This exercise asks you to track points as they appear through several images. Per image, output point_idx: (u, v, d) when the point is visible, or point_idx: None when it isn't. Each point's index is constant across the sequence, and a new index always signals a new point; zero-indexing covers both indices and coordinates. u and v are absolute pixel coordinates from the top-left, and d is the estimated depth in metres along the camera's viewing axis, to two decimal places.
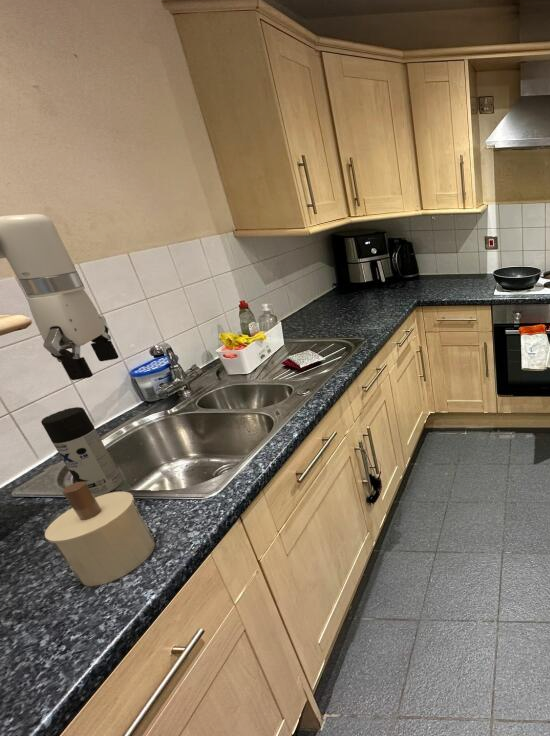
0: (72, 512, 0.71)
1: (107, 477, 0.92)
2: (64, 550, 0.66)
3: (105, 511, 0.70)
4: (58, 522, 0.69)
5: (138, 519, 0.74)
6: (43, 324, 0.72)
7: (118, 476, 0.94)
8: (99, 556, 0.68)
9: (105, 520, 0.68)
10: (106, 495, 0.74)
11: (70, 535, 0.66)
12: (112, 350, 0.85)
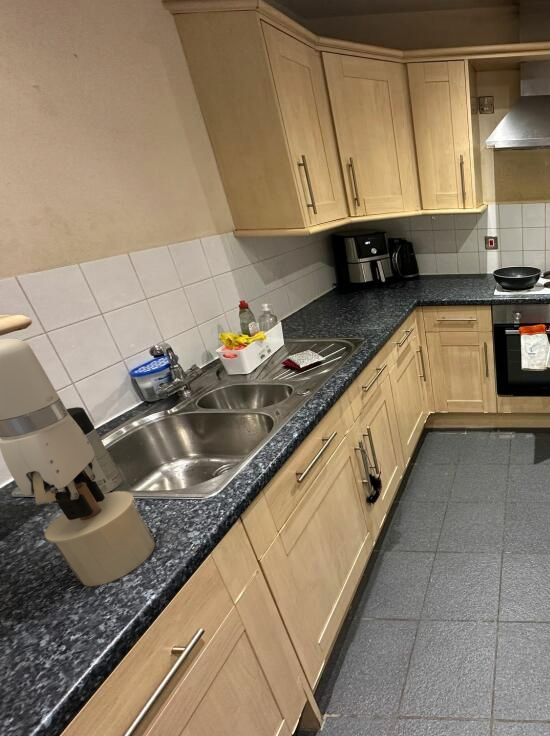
0: None
1: (107, 477, 0.92)
2: (64, 550, 0.66)
3: (105, 511, 0.70)
4: (58, 522, 0.69)
5: (138, 519, 0.74)
6: (18, 470, 0.60)
7: (118, 476, 0.94)
8: (99, 556, 0.68)
9: (105, 520, 0.68)
10: (106, 495, 0.74)
11: (70, 535, 0.66)
12: (97, 492, 0.70)
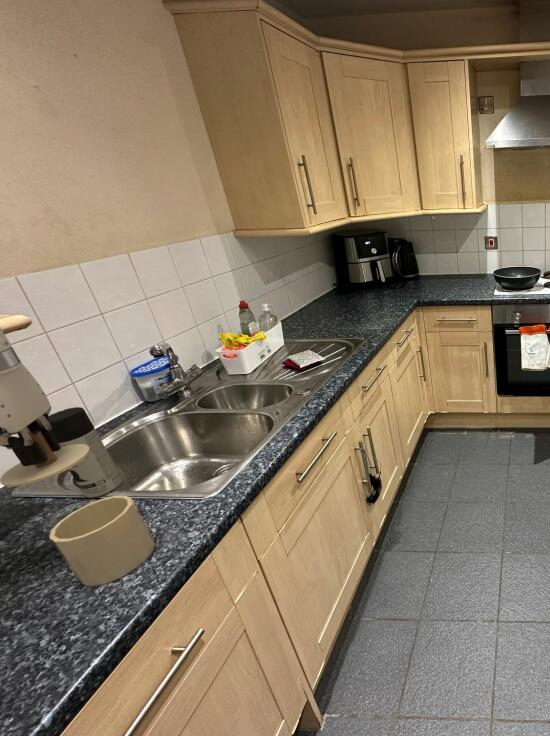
0: None
1: (107, 477, 0.92)
2: (64, 550, 0.66)
3: (60, 460, 0.73)
4: (14, 469, 0.72)
5: (138, 519, 0.74)
6: None
7: (118, 476, 0.94)
8: (99, 556, 0.68)
9: (59, 467, 0.71)
10: (64, 447, 0.77)
11: (24, 479, 0.69)
12: (52, 442, 0.73)
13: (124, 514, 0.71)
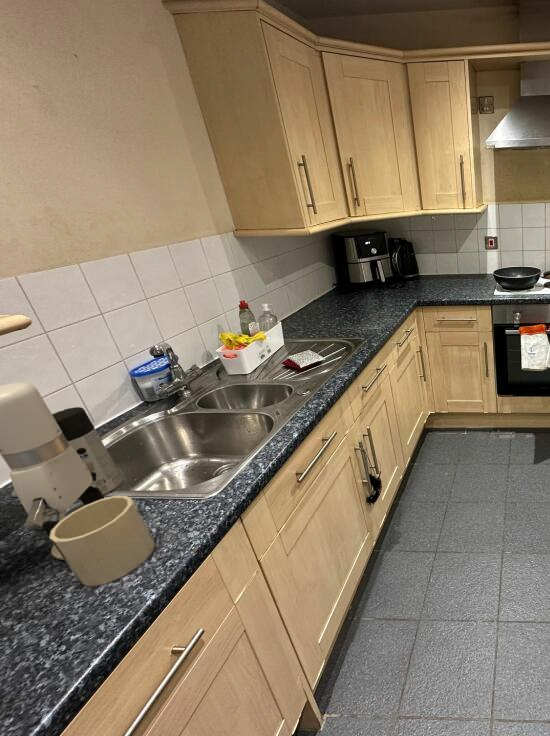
0: None
1: (107, 477, 0.92)
2: (64, 550, 0.66)
3: None
4: None
5: (138, 519, 0.74)
6: (26, 497, 0.69)
7: (118, 476, 0.94)
8: (99, 556, 0.68)
9: None
10: None
11: None
12: (100, 497, 0.82)
13: (124, 514, 0.71)
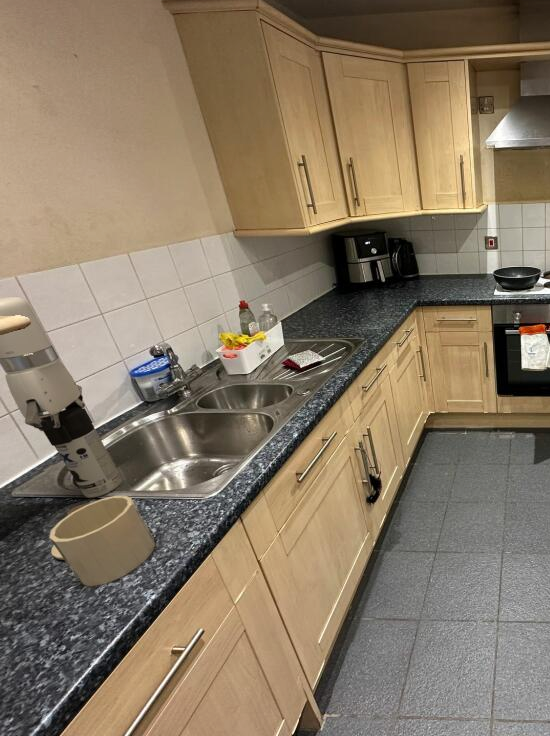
0: None
1: (107, 477, 0.92)
2: (64, 550, 0.66)
3: None
4: None
5: (138, 519, 0.74)
6: (20, 398, 0.79)
7: (118, 476, 0.94)
8: (99, 556, 0.68)
9: None
10: None
11: None
12: None
13: (124, 514, 0.71)
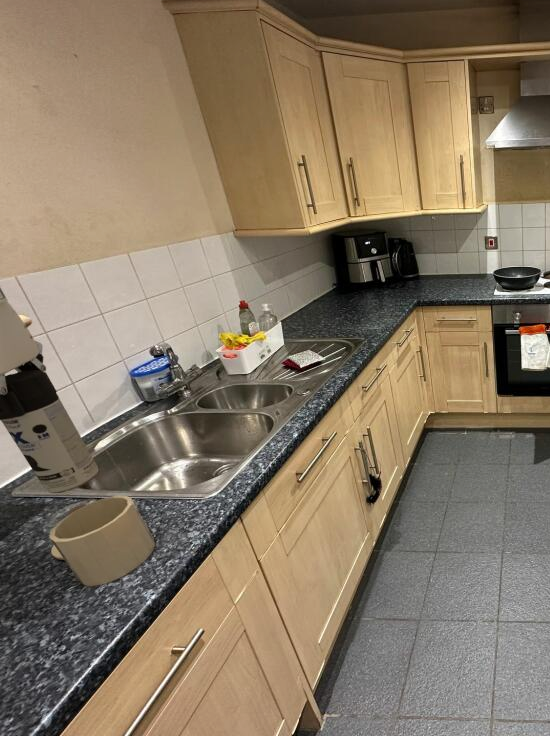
0: None
1: (78, 465, 0.68)
2: (64, 550, 0.66)
3: None
4: None
5: (138, 519, 0.74)
6: None
7: (92, 464, 0.71)
8: (99, 556, 0.68)
9: None
10: None
11: None
12: None
13: (124, 514, 0.71)
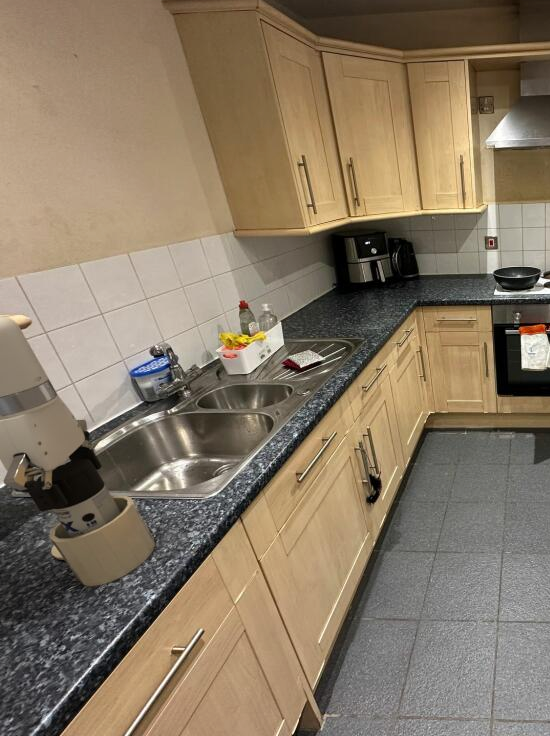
0: None
1: None
2: (64, 550, 0.66)
3: None
4: None
5: (138, 519, 0.74)
6: (5, 452, 0.59)
7: None
8: (99, 556, 0.68)
9: None
10: None
11: None
12: (94, 460, 0.71)
13: (124, 514, 0.71)
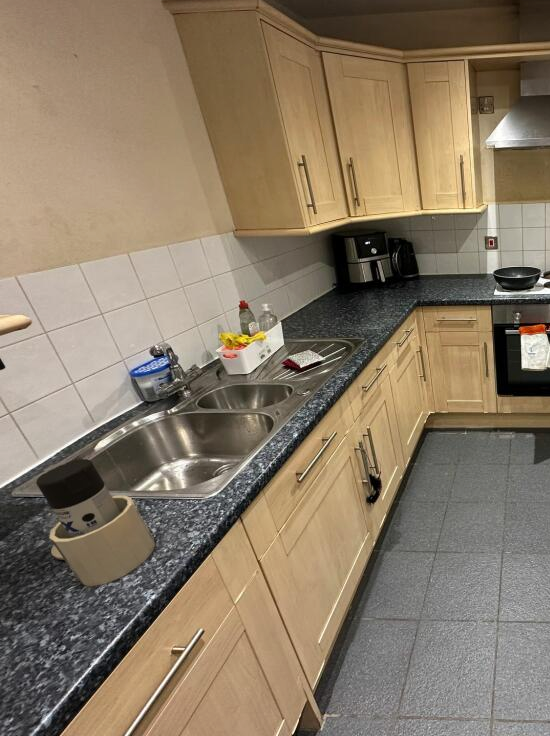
0: None
1: None
2: (64, 550, 0.66)
3: None
4: None
5: (138, 519, 0.74)
6: None
7: None
8: (99, 556, 0.68)
9: None
10: None
11: None
12: None
13: (124, 514, 0.71)
